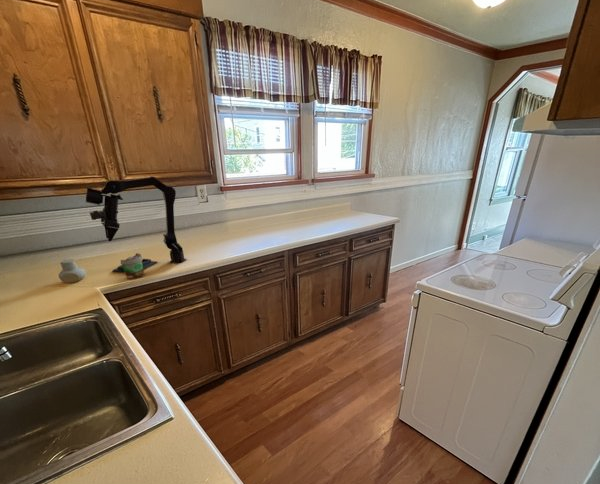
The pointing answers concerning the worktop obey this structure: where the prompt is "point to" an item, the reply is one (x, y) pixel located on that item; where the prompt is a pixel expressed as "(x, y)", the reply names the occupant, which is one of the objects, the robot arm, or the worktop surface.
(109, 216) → the robot arm
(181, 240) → the worktop surface
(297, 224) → the worktop surface
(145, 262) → the pad
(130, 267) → the food container
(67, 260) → the air freshener
